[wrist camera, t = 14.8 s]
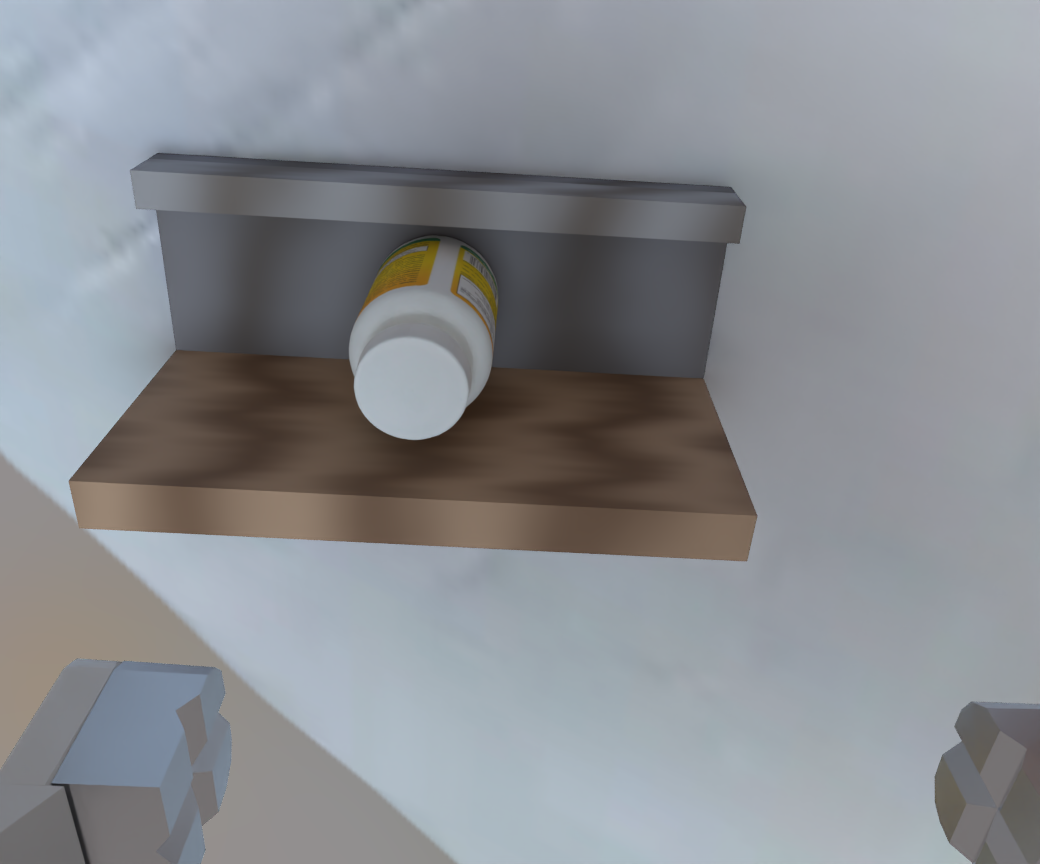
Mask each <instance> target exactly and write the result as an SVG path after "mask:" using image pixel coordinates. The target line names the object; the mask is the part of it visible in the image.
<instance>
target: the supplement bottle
mask: <svg viewBox="0 0 1040 864" xmlns="http://www.w3.org/2000/svg"><path fill="white" fill-rule="evenodd" d="M497 310H498V288H497V283H496V279H495V276H494V274H493V272H492V270H491V268H490V266H489V265H488V263H487V262H486V260H485V259H484V258H483V257H482V256H481V254H480V253H478V252H477V251H476V250H475V249H474V248H472V247H471V246H469V245H467V244H466V243H464V242H462V241H459V240H457V239H454V238H450V237H446V236H436V235H431V236H424V237H420V238H417V239H414V240H411V241H409V242H407V243H404V244H403V245H401V246H400V247H398V248H397V249H395V250H394V251H393V252H392V253H391V254H390V255H389V256H388V257H387V258H386V260H385V261H384V262H383V264H382V266H381V267H380V269H379V271H378V274H377V276H376V278H375V280H374V282H373V285H372V287H371V289H370V291H369V294H368V296H367V298H366V300H365V302H364V305H363V307H362V309H361V311H360V313H359V315H358V317H357V319H356V322H355V324H354V326H353V329H352V332H351V336H350V342H349V360H350V365H351V369H352V372H353V375H354V392H355V397H356V400H357V403H358V406H359V408H360V410H361V411H362V413H363V414H364V416H365V417H366V418H367V419H368V420H369V421H370V422H371V423H372V424H373V425H374V426H375V427H377V428H378V429H380V430H381V431H383V432H385V433H387V434H389V435H391V436H394V437H397V438H401V439H408V440H421V439H427V438H431V437H434V436H437V435H440V434H442V433H444V432H445V431H447V430H448V429H450V428H451V427H452V426H453V425H454V424H455V423H456V422H457V421H458V420H459V419H460V417H461V416H462V414H463V413H464V410H465V408H466V407H467V406H468V405H470V404H471V403H472V402H473V401H474V400H475V399H476V398H477V397H478V395H479V394H480V393H481V391H482V390H483V388H484V386H485V384H486V382H487V380H488V378H489V375H490V371H491V367H492V360H493V351H494V341H495V331H496V320H497Z"/></svg>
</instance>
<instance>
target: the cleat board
mask: <svg viewBox="0 0 1040 864" xmlns="http://www.w3.org/2000/svg"><path fill="white" fill-rule="evenodd" d="M130 173H131V180H132V186H133V193H134V199H135V206H136V209H149V210H156V212H157V219H158V226H159V233H160V240H161V247H162V254H163V261H164V268H165V275H166V282H167V289H168V296H169V303H170V310H171V317H172V324H173V331H174V338H175V345H176V351H175V352H174V353H173V355H172V356H171V357H170V358H169V359H168V361H167V362H166V363H165V364H164V365H163V367H162V368H161V369H160V370H159V372H158V373H157V374H156V375H155V376H154V378H153V379H152V380H151V381H150V383H149V384H148V385H147V386H146V387H145V389H144V390H143V391H142V392H141V393H140V395H139V396H138V397H137V398H136V400H135V401H134V402H133V403H132V404H131V406H130V407H129V408H128V409H127V411H126V412H125V413H124V414H123V415H122V417H121V418H120V419H119V420H118V421H117V423H116V424H115V425H114V426H113V428H112V429H111V430H110V431H109V432H108V434H107V435H106V436H105V437H104V438H103V440H102V441H101V442H100V443H99V445H98V446H97V447H96V448H95V449H94V451H93V452H92V453H91V454H90V456H89V457H88V458H87V459H86V460H85V462H84V463H83V464H82V465H81V466H80V468H79V469H78V470H77V471H76V473H75V474H74V475H73V476H72V477H71V479H70V480H69V485H70V489H71V494H72V498H73V503H74V507H75V512H76V516H77V521H78V525H79V528H84V529H105V530H125V531H145V532H165V533H185V534H206V535H226V536H246V537H266V538H287V539H307V540H327V541H347V542H367V543H388V544H408V545H428V546H448V547H469V548H489V549H509V550H529V551H549V552H570V553H590V554H610V555H630V556H651V557H671V558H691V559H711V560H731V561H747V559H748V555H749V550H750V546H751V541H752V537H753V532H754V528H755V524H756V519H757V514H756V511H755V509H754V506H753V504H752V501H751V499H750V496H749V494H748V491H747V488H746V486H745V483H744V481H743V478H742V476H741V473H740V471H739V468H738V465H737V463H736V460H735V458H734V455H733V453H732V450H731V448H730V445H729V442H728V440H727V437H726V435H725V432H724V430H723V427H722V425H721V422H720V420H719V417H718V414H717V412H716V409H715V407H714V404H713V402H712V399H711V397H710V394H709V391H708V389H707V386H706V384H705V381H704V379H703V378H704V373H705V367H706V361H707V355H708V350H709V344H710V338H711V333H712V327H713V321H714V315H715V310H716V304H717V298H718V293H719V287H720V281H721V275H722V270H723V264H724V258H725V253H726V247H727V243H737V244H739V243H740V238H741V232H742V227H743V221H744V216H745V210H746V206H745V204H744V203H743V202H742V200H741V199H740V198H739V197H738V195H737V194H736V193H735V192H734V190H733V189H732V188H731V187H721V186H704V185H687V184H670V183H653V182H636V181H619V180H602V179H586V178H569V177H552V176H535V175H518V174H501V173H484V172H467V171H450V170H434V169H417V168H400V167H383V166H366V165H349V164H332V163H315V162H298V161H282V160H265V159H248V158H231V157H214V156H197V155H180V154H163V153H157V154H156V155H154V156H152V157H151V158H149V159H147V160H146V161H144V162H143V163H141V164H139V165H138V166H136V167H135V168H133V169H131V170H130ZM431 235H436V236H446V237H450V238H454V239H457V240H459V241H462V242H464V243H466V244H467V245H469V246H471V247H472V248H474V249H475V250H476V251H477V252H478V253H480V254H481V256H482V257H483V258H484V259H485V260H486V262H487V263H488V265H489V266H490V268H491V270H492V272H493V274H494V276H495V279H496V283H497V288H498V310H497V320H496V331H495V341H494V351H493V360H492V367H491V371H490V375H489V378H488V380H487V382H486V384H485V386H484V388H483V390H482V391H481V393H480V394H479V395H478V397H477V398H476V399H475V400H474V401H473V402H472V403H471V404H470V405H468V406H467V407H466V408H465V410H464V413H463V414H462V416H461V417H460V419H459V420H458V421H457V422H456V423H455V424H454V425H453V426H452V427H451V428H450V429H448V430H447V431H445V432H444V433H442V434H440V435H437V436H434V437H431V438H427V439H421V440H408V439H401V438H397V437H394V436H391V435H389V434H387V433H385V432H383V431H381V430H380V429H378V428H377V427H375V426H374V425H373V424H372V423H371V422H370V421H369V420H368V419H367V418H366V417H365V416H364V414H363V413H362V411H361V410H360V408H359V406H358V403H357V400H356V397H355V392H354V375H353V372H352V369H351V365H350V360H349V342H350V336H351V332H352V329H353V326H354V324H355V322H356V319H357V317H358V315H359V313H360V311H361V309H362V307H363V305H364V302H365V300H366V298H367V296H368V294H369V291H370V289H371V287H372V285H373V282H374V280H375V278H376V276H377V274H378V271H379V269H380V267H381V266H382V264H383V262H384V261H385V260H386V258H387V257H388V256H389V255H390V254H391V253H392V252H393V251H394V250H395V249H397V248H398V247H400V246H401V245H403V244H404V243H407V242H409V241H411V240H414V239H417V238H420V237H424V236H431Z"/></svg>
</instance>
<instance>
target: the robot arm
mask: <svg viewBox="0 0 1040 864" xmlns="http://www.w3.org/2000/svg"><path fill="white" fill-rule="evenodd" d="M224 696H225V688H224V682H223V678H222V671H221V670H219V669H217V668H215V667H204V666H190V665H189V666H188V665H176V664H162V663H148V662H132V661H123V662H119V661H106V660H92V659H78V658H77V659H75V660H74V661H73V662H71V663H70V664H69V665H67V666H66V667H65V668H64V669H63V670H62V672H61V673H60V675H59V677H58V678H57V680H56V681H55V683H54V685H53V686H52V688H51V689H50V691H49V693H48V694H47V696H46V697H45V699H44V701H43V702H42V704H41V705H40V707H39V709H38V710H37V712H36V713H35V715H34V717H33V718H32V720H31V721H30V723H29V725H28V726H27V728H26V729H25V731H24V732H23V734H22V736H21V737H20V739H19V741H18V742H17V744H16V745H15V747H14V748H13V750H12V752H11V753H10V755H9V756H8V758H7V760H6V761H5V763H4V764H3V766H2V768H1V769H0V864H201V861H202V858H203V855H204V852H205V844H204V838H203V832H202V826H203V825H204V824H205V823H206V822H207V821H208V820H210V819H211V818H212V817H213V816H214V815H216V814H217V813H218V812H219V809H220V806H221V803H222V800H223V797H224V794H225V791H226V787H227V782H228V776H229V770H230V765H231V750H232V749H231V748H232V738H231V730H230V723H229V722H228V721H227V720H226V719H225V718H224V717H223V716H222V715H221V714H220V713H219V712H218V711H219V709H220V706H221V704H222V701H223V698H224ZM954 727H955V729H956V731H957V732H958V734H959V736H960V738H961V740H962V741H961V742H960V743H959V744H957V745H956V746H954V747H953V748H952V749H950V750H949V751H947V752H946V753H944V754H943V755H942V758H941V760H940V763H939V766H938V769H937V772H936V774H935V804H936V808H937V812H938V816H939V820H940V823H941V825H942V828H943V830H944V832H945V834H946V837H947V839H948V841H949V843H950V844H951V845H952V846H953V847H955V848H956V849H957V850H958V851H959V852H960V853H962V854H963V855H964V856H965V857H966V858H967V859H969V860H970V861H971V862H972V864H1040V704H1025V703H998V702H970V703H969V704H968V705H967V706H966V707H964V708H963V709H962V710H961V712H960V714H959V717H958V719H957V721H956V724H955V726H954Z"/></svg>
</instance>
